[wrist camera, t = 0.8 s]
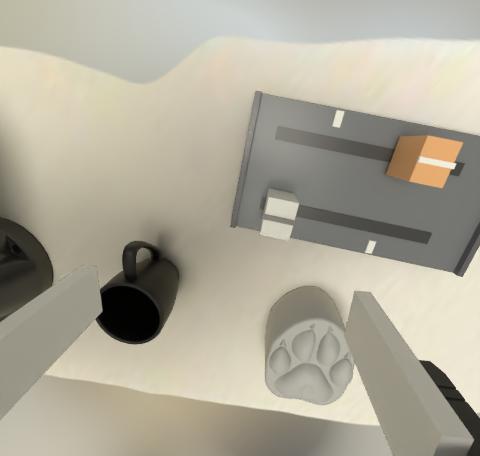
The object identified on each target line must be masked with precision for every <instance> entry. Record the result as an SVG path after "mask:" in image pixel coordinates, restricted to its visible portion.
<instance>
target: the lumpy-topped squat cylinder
mask: <svg viewBox="0 0 480 456" xmlns="http://www.w3.org/2000/svg"><path fill="white" fill-rule="evenodd" d="M345 330H346V329H345V326H344V324H343V321H342V319H341V317H340V314H339V312H338V309H337V307H336V305H335V303H334V301H333V299H332V298H331V297H330V296H329V295H328V294H327V293H326V292H325V291H323V290H322V289H320V288H317V287H314V286H303V287H299V288H296V289H294V290H292V291H290V292H288V293H286V294H285V295H284V296H283V297H281V298H280V299H279V300H278V301H277V302H276V303H275V304H274V306H273V307H272V308H271V311H270V313H269V317H268V321H267V326H266V335H265V382H266V385H267V387H268V389H269V390H270V391H271V392H272V393H273V394H274V395H276V396H278V397H282V398H289V399H299V400H304V401H307V402H310V403H313V404H317V405H327V404H330V403H332V402H334V401H336V400H337V399H339V398H340V397H341V396H342V394H343V393H344V391H345V389H346V387H347V385H348V384H349V383H350V381H351V380H352V377H353V369H354V364H355V362H354V359H353V357H352V355H351V352H350V350H349V347H348V345H347V342H346V340H345V337H344V334H345Z"/></svg>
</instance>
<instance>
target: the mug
mask: <svg viewBox="0 0 480 456" xmlns="http://www.w3.org/2000/svg"><path fill="white" fill-rule="evenodd" d="M140 248H146V249H148V250H149V251H150V253H151V258H150V259H148V260H144V261H142V262H139V263H137V264H136V255H137V252H138V250H139V249H140ZM122 262H123V271H122V272H120V273H119V274H117V275H116V276H115V277H114V278H112V279H111V280H110V281H109V282H108V283H107V284H106V285H104V286H103V287H102V288H101V289H100V295H101V303H102V310H103V311H102V312H101V313H100V314H99V315H98V317H97V318H96V321H97V323H98V324H99V326H100V327H101V328H102V329H103V330H104V331H105V332H106V333H107V334H108V335H109V336H111V337H112V338H114V339H116V340H118V341H120V342H124V343H127V344H143V343H146V342H149V341H151V340H152V339H154V338H155V337H156V336H157V335H158V334H159V333H160V332H161V330H162V328H163V326H164V324H165V323H166V321H167V319H168V317H169V315H170V313H171V311H172V309H173V306H174V303H175V299H176V295H177V289H178V280H179V273H178V270H177V268H176V266H175V265H174V264H173V263H172V262H171V261H169V260H168V259H166V258H162V252H161V250H160V249H159V248H157V247H155V246H153V245H151V244H149V243H146V242H143V241H133V242H130V243H129V244H127V245H126V246H125V248H124V251H123V257H122Z"/></svg>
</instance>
